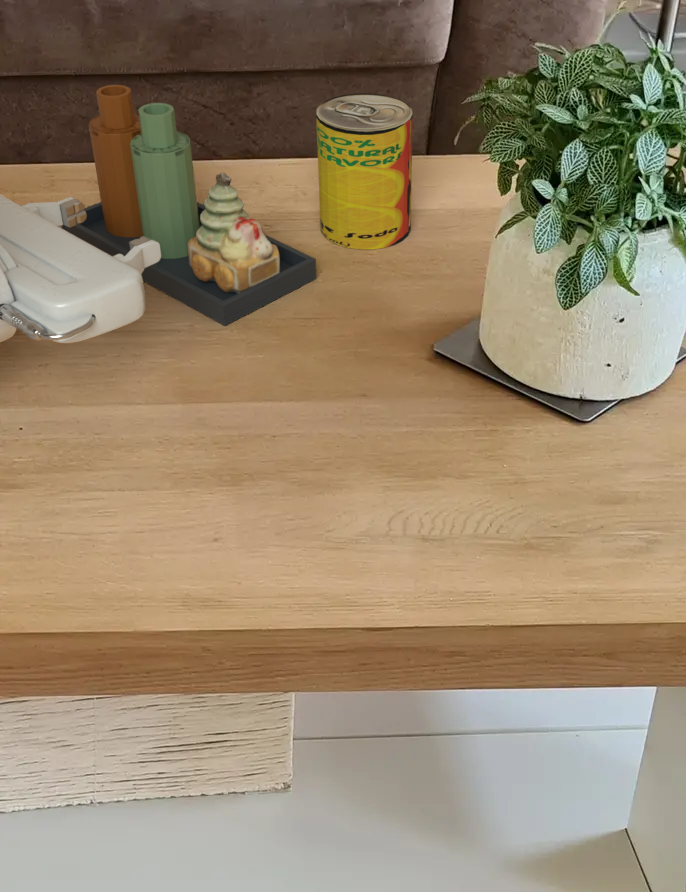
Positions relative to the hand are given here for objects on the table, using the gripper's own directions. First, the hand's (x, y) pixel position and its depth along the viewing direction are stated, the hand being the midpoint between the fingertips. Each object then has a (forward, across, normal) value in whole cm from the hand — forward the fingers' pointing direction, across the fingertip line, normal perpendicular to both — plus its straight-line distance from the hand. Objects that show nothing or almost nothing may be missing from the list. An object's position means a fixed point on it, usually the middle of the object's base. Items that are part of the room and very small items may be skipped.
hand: (116, 227), depth 93 cm
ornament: (+12, 0, +10) cm, 15 cm away
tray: (+12, +7, +10) cm, 17 cm away
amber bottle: (+12, +15, +10) cm, 21 cm away
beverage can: (+28, -1, +10) cm, 30 cm away
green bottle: (+12, +9, +10) cm, 18 cm away
